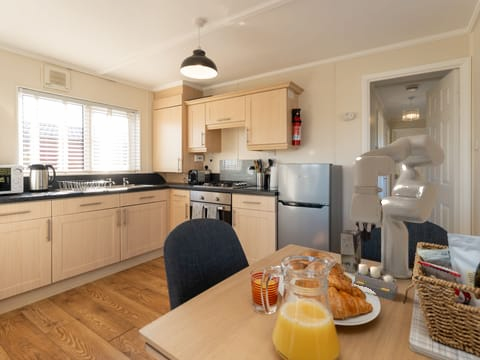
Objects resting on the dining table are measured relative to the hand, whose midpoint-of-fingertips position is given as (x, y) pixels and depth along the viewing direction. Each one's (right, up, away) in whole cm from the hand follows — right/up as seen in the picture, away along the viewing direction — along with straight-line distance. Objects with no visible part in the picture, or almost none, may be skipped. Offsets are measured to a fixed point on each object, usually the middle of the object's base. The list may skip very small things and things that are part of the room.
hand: (366, 241), depth 93 cm
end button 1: (+5, -15, -4) cm, 16 cm away
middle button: (+3, -13, -1) cm, 13 cm away
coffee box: (+3, -17, +19) cm, 26 cm away
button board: (+3, -17, -1) cm, 17 cm away
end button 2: (0, -12, +1) cm, 13 cm away
